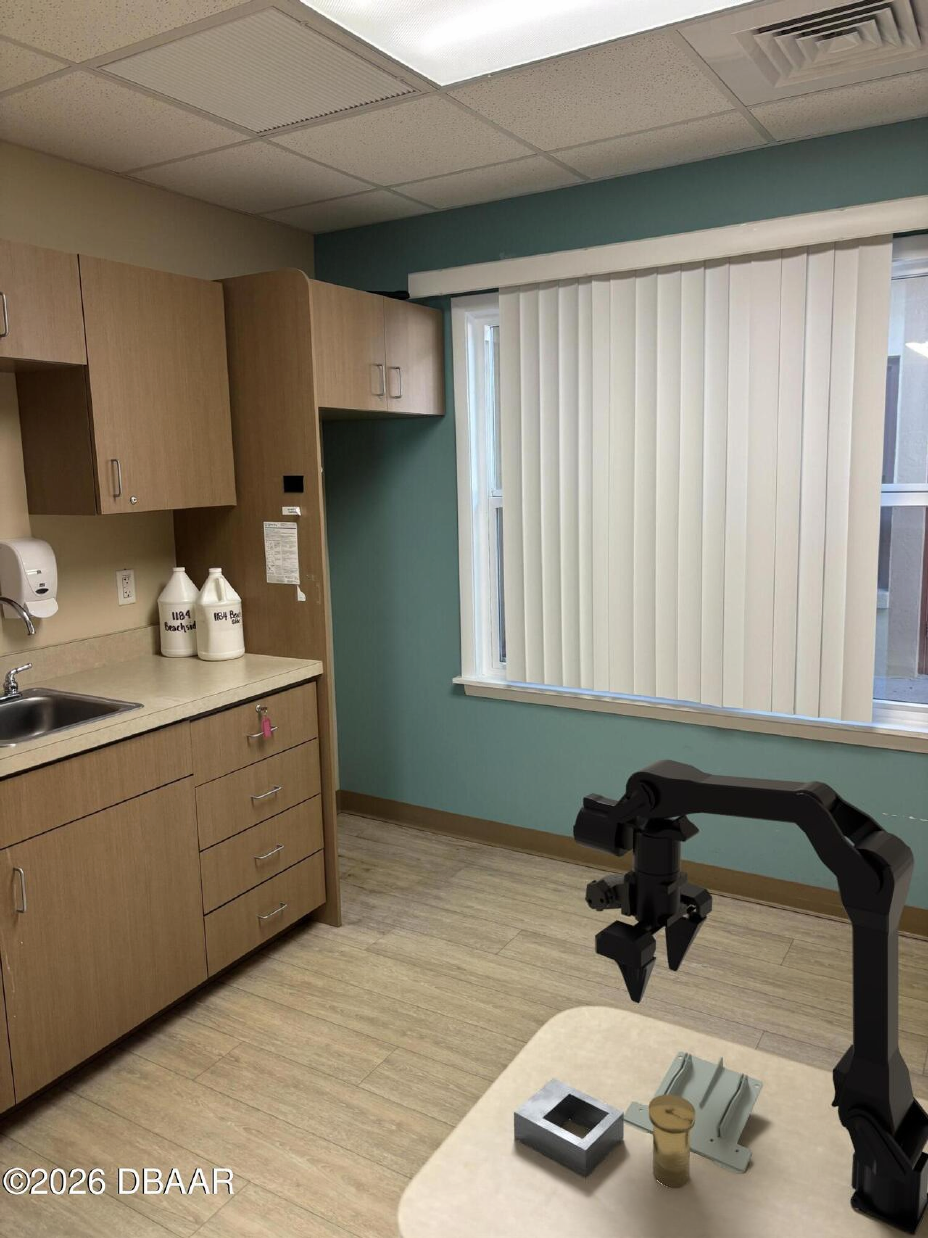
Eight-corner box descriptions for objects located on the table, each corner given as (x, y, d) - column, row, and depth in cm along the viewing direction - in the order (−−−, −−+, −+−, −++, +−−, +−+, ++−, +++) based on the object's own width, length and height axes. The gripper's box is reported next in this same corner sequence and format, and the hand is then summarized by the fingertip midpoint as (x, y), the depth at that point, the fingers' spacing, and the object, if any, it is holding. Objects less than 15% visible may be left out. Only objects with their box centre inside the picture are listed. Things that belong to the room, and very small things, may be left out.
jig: (623, 1139, 111) (623, 1112, 110) (585, 1178, 105) (585, 1150, 104) (553, 1103, 117) (553, 1078, 117) (514, 1138, 111) (513, 1112, 111)
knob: (702, 1172, 106) (703, 1107, 104) (680, 1198, 102) (681, 1131, 101) (662, 1152, 109) (662, 1088, 107) (639, 1177, 105) (640, 1112, 104)
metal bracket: (666, 1030, 123) (781, 1072, 114) (670, 1063, 125) (784, 1107, 116) (615, 1117, 113) (738, 1170, 104) (621, 1151, 115) (742, 1206, 106)
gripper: (637, 827, 126) (636, 936, 129) (556, 874, 112) (557, 995, 115) (715, 847, 119) (712, 963, 121) (639, 900, 105) (638, 1029, 108)
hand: (655, 985), depth 117 cm, fingers open, 9 cm apart
